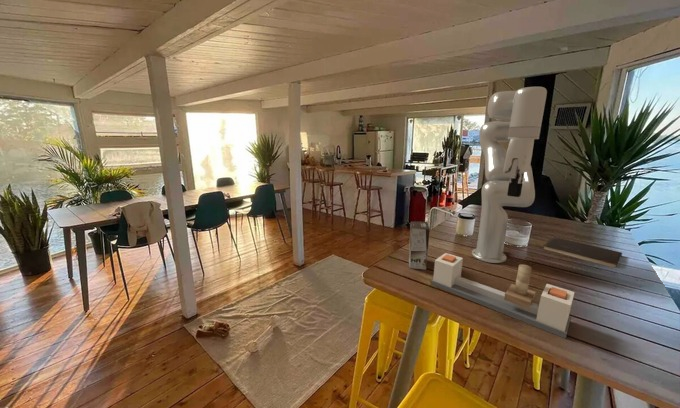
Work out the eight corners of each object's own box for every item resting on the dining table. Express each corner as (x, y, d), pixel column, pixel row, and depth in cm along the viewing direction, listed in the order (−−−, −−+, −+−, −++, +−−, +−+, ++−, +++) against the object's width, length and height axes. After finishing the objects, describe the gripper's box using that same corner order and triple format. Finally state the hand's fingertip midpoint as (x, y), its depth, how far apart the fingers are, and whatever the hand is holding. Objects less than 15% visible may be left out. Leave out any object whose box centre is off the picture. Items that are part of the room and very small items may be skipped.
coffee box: (426, 270, 103) (430, 229, 99) (409, 268, 104) (411, 228, 100) (424, 259, 111) (427, 221, 107) (408, 257, 113) (410, 220, 109)
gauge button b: (549, 298, 75) (552, 286, 74) (564, 303, 72) (567, 291, 72) (547, 303, 72) (549, 291, 72) (562, 308, 70) (565, 296, 69)
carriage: (510, 289, 83) (516, 259, 80) (534, 297, 79) (540, 266, 76) (504, 299, 78) (509, 267, 76) (528, 308, 74) (535, 275, 71)
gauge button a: (445, 263, 94) (446, 254, 93) (454, 266, 92) (456, 257, 91) (441, 266, 92) (442, 257, 91) (450, 270, 90) (452, 260, 89)
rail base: (442, 274, 99) (444, 251, 97) (570, 321, 75) (577, 292, 72) (430, 284, 93) (432, 260, 91) (565, 338, 69) (573, 307, 66)
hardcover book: (615, 269, 104) (616, 264, 103) (542, 250, 121) (543, 245, 120) (621, 257, 113) (622, 252, 113) (553, 240, 130) (554, 236, 130)
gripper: (515, 133, 86) (506, 190, 91) (501, 134, 76) (492, 198, 81) (544, 133, 81) (533, 194, 86) (533, 134, 71) (522, 202, 76)
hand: (513, 195), depth 83 cm, fingers closed
